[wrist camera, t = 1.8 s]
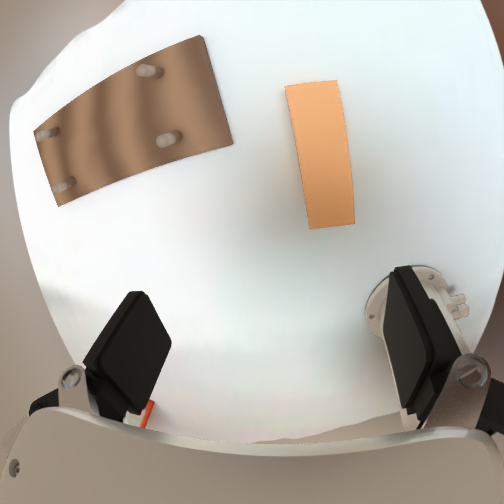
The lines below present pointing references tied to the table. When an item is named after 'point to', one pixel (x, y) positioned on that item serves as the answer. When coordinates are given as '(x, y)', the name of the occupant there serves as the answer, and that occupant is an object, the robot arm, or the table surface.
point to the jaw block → (322, 152)
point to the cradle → (134, 122)
